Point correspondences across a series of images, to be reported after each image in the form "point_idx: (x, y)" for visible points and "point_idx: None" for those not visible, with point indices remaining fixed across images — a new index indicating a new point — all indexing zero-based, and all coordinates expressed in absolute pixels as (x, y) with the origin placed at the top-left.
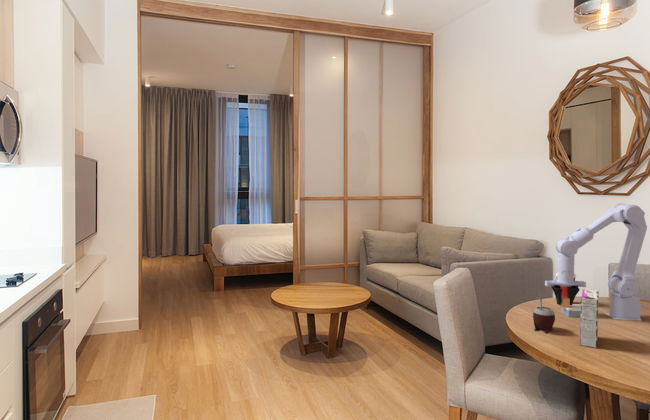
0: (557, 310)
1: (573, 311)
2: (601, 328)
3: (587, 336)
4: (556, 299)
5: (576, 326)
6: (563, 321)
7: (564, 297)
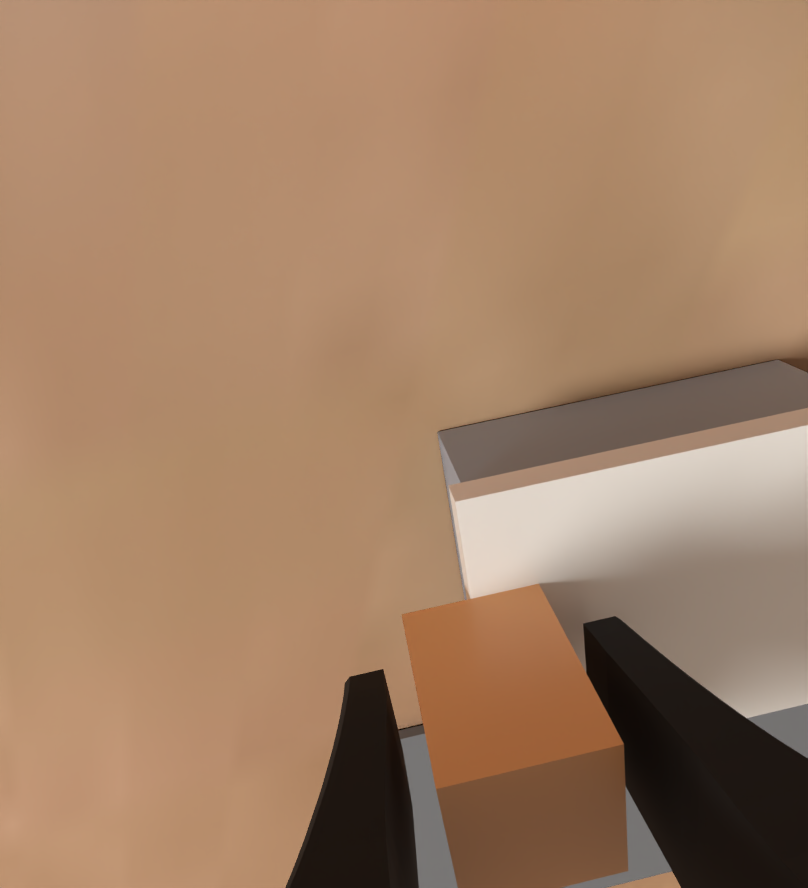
0: (401, 282)
1: None
2: None
3: None
4: (337, 759)
5: None
6: None
7: (533, 829)
